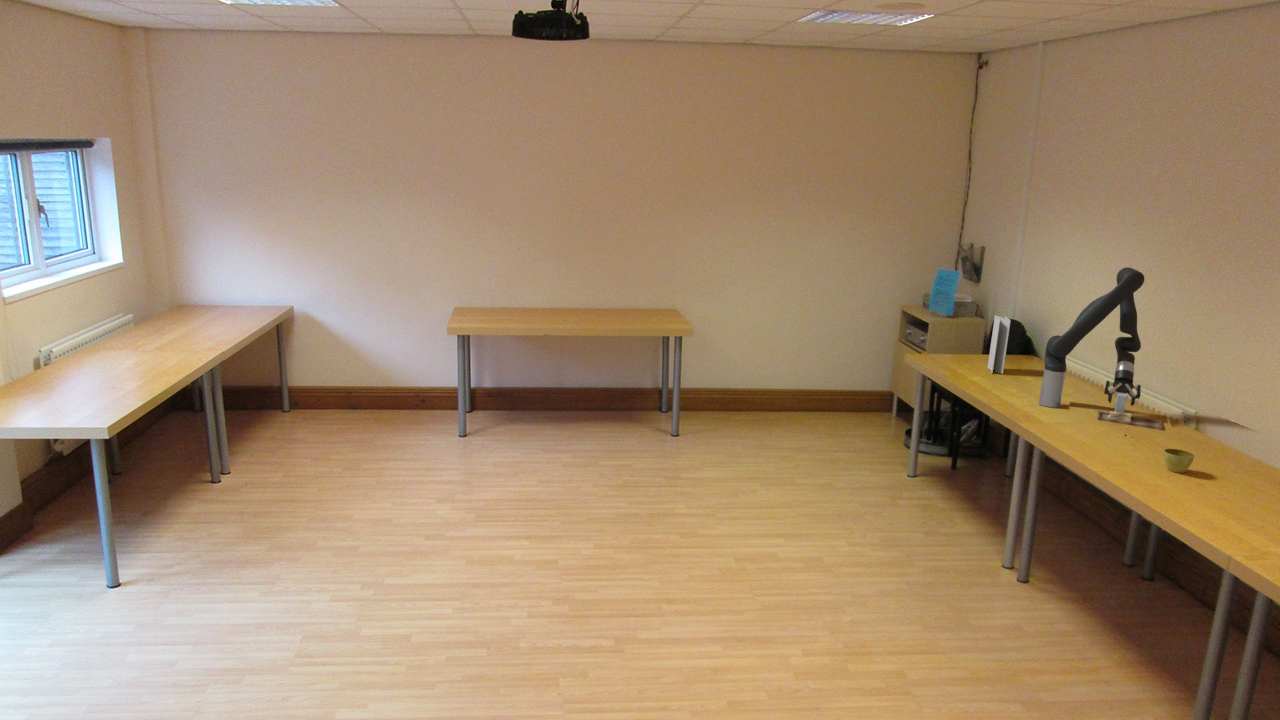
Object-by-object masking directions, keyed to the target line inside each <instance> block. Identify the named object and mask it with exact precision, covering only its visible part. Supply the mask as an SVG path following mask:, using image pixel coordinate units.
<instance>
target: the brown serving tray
mask: <svg viewBox="0 0 1280 720" xmlns="http://www.w3.org/2000/svg"><path fill="white" fill-rule="evenodd" d="M1107 415H1110V412H1106V411H1101V410H1099V411H1098V412H1097V420H1098V421H1102V422H1108V423H1114V424H1120V425H1128V426H1133V427H1139V428H1147V429H1152V430H1157V431H1158V430H1159V431H1163V429H1164V426H1163V423H1162V420H1160V419H1159V420H1158V419H1152V418H1146V417H1141V416H1140V417H1139V416H1133V415H1131V421H1130V422H1125V421H1118V420H1112V419H1107Z"/></svg>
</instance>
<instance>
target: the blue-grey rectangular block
mask: <svg viewBox="0 0 1280 720" xmlns="http://www.w3.org/2000/svg"><path fill="white" fill-rule="evenodd" d="M1116 396H1117V397H1116V402H1115V406H1114V407H1115V408H1114V412H1121V413H1125V409H1126V402H1127V393H1126V394H1124V393H1118V392H1117V394H1116Z"/></svg>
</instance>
